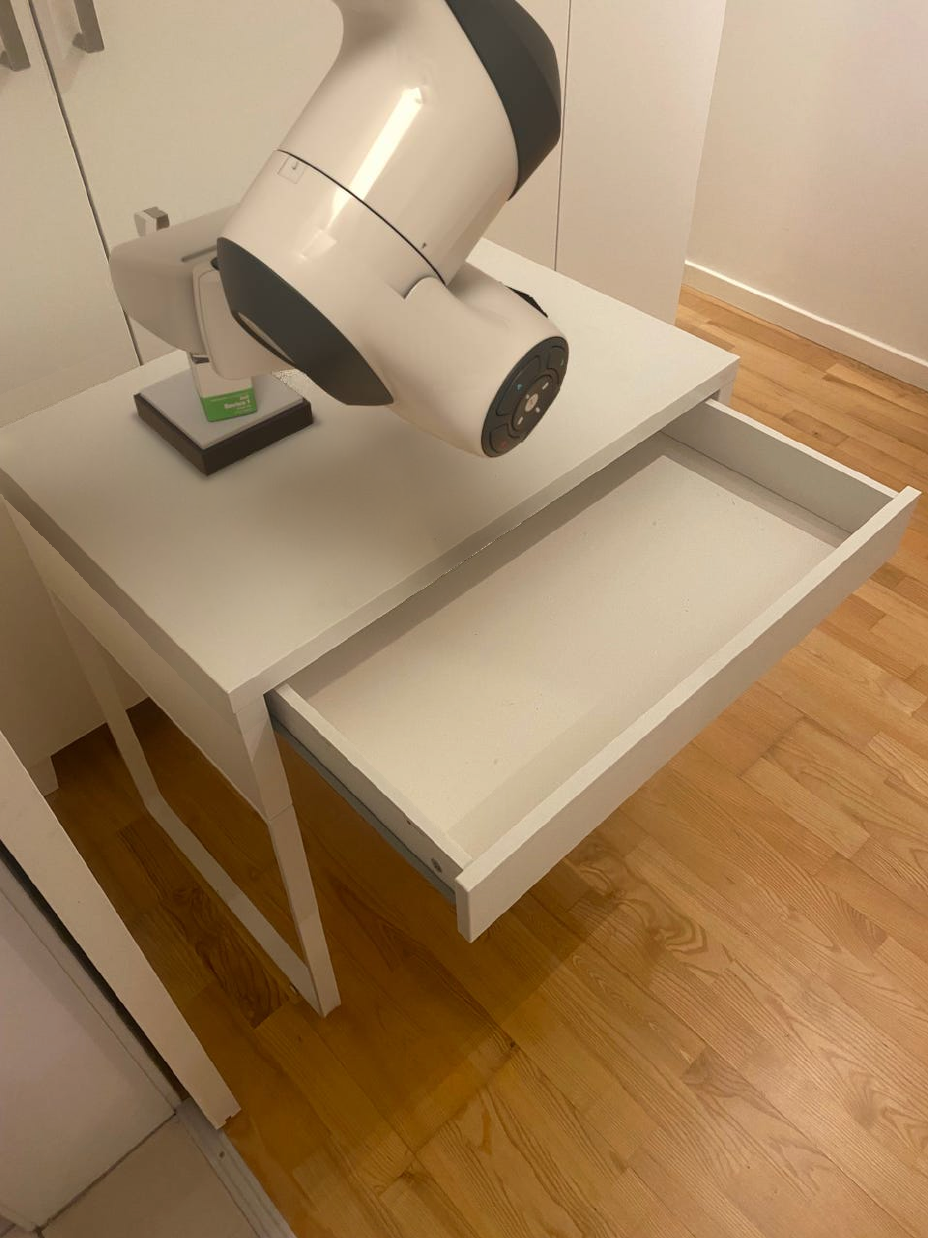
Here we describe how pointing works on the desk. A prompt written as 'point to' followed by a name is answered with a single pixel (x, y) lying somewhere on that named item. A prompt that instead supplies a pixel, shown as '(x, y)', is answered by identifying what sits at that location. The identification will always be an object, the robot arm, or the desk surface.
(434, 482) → the desk surface
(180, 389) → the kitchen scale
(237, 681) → the desk surface
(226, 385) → the ink box
